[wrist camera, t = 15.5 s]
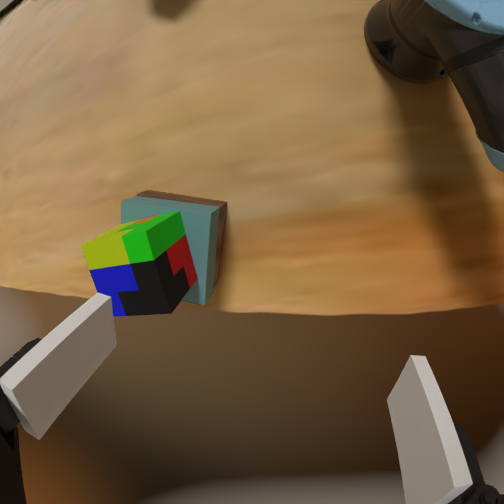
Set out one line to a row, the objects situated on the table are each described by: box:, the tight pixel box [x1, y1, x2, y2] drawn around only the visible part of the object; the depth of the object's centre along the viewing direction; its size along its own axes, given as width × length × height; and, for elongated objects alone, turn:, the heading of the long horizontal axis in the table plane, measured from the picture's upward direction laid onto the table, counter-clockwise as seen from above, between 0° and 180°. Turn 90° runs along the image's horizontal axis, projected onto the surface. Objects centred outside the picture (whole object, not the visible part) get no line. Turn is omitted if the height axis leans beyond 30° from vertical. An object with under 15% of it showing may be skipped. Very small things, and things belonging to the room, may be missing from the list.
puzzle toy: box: [81, 211, 198, 316], centre depth 39 cm, size 10×10×10 cm
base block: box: [137, 190, 227, 289], centre depth 50 cm, size 14×14×4 cm
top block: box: [121, 196, 220, 305], centre depth 46 cm, size 14×14×4 cm
